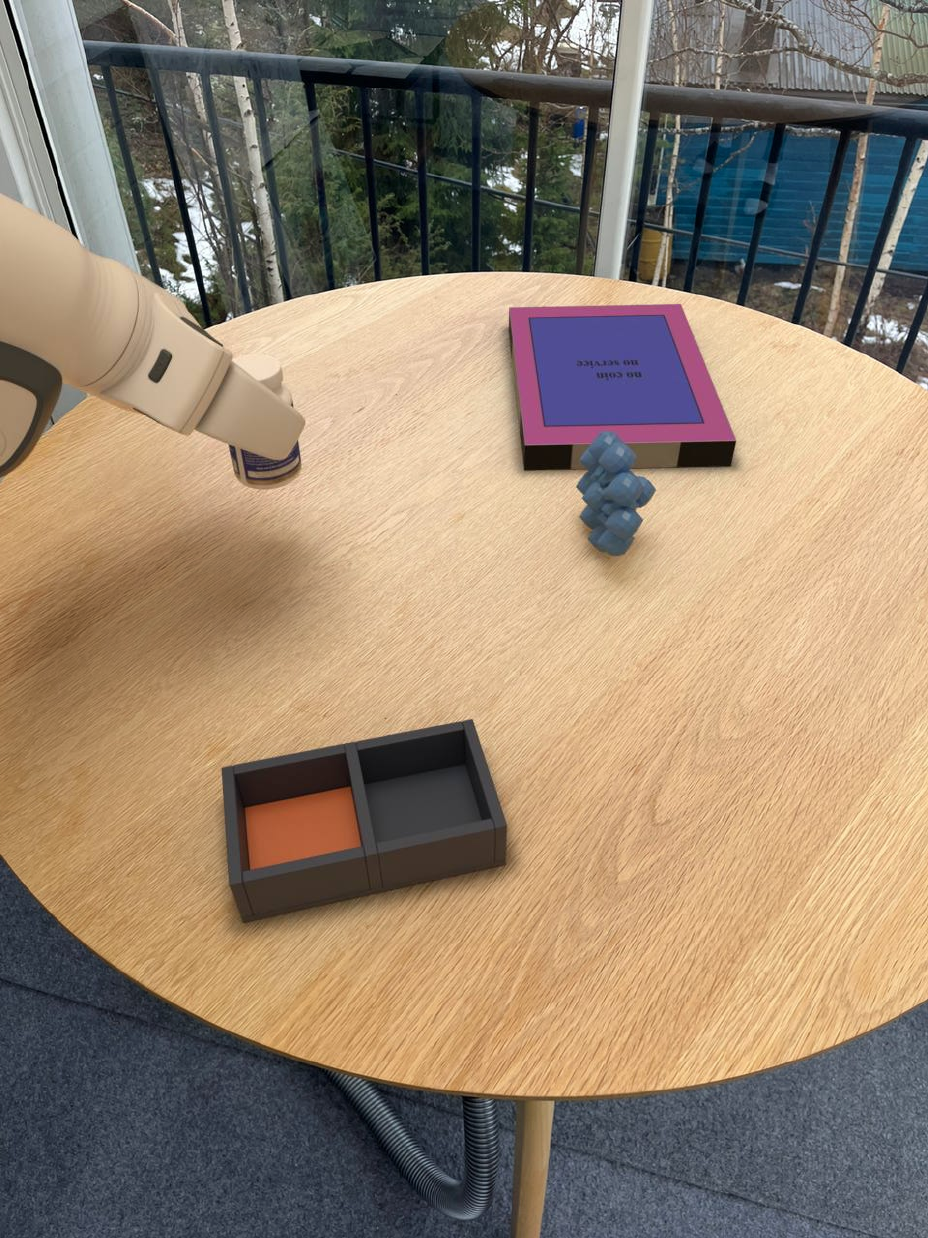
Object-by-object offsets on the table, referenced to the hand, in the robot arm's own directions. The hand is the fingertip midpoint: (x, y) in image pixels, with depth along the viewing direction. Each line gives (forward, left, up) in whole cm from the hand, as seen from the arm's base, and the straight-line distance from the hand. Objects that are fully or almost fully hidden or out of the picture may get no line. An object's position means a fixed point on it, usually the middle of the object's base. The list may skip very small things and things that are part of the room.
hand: (266, 414), depth 77 cm
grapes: (+29, -7, -14) cm, 33 cm away
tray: (+2, -32, -14) cm, 35 cm away
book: (+38, +19, -14) cm, 45 cm away
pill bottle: (-1, 0, -6) cm, 6 cm away
